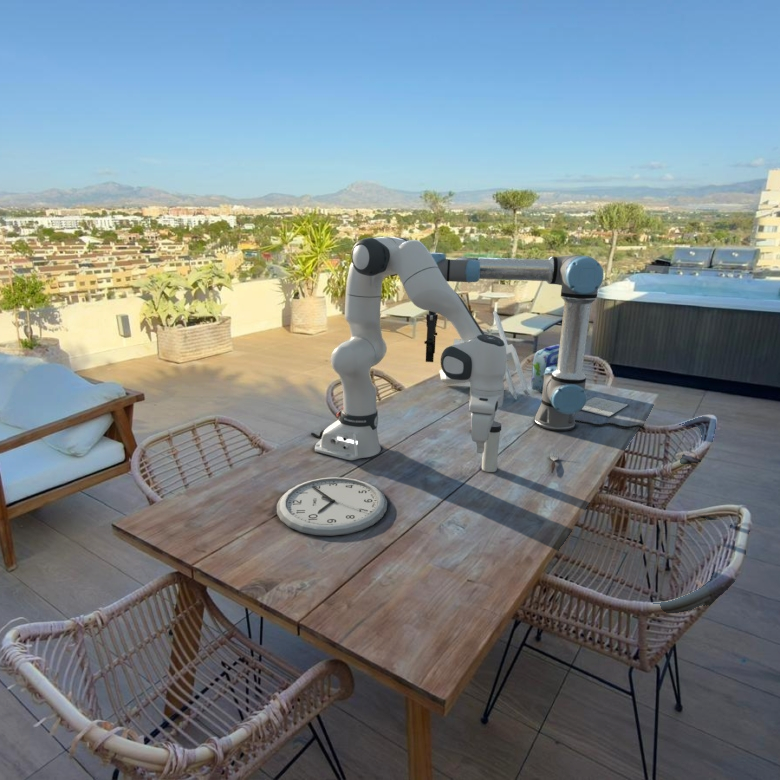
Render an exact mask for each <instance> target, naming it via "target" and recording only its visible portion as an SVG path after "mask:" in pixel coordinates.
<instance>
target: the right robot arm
mask: <svg viewBox="0 0 780 780" xmlns="http://www.w3.org/2000/svg"><path fill="white" fill-rule="evenodd" d="M430 254H431V255H432V257H433V259H434V260H435V262H436V264H437V266H438V268H439V270H440V271H441V273H442V275H443V277H444V278H445V280H446V281H447V283H449V282H452V283H453V282H457V283H468V284H470V283H477V282H479V281H480V280H495V281H497V280H499V281H500V280H501V281H526V282H527V281H531V282H546V283H547V284H548V285H557V286H561V289H560V298H561V299H562V300H563V303H564V305H563V313H562V322H561V330H560V339H559V345H560V346H559V355H558V364H557V366H553V367H547V368H546V369H545V373H544V382H543V392H542V391H541V393H542V394H541V402H540V405H539V407H538V410H537V411H536V413H535V417H534V424H535V425H536V426H537V427H539V428H542V429H544V430H549V431H556V432H567V431H572V430H574V429H575V428H576V423H577V424H584V425H588V426H592V427H604V426H614V427H617V428H619V429H620V428H621V429H626V430H628V429H635V428H640V429H641V430H643V431H646V430H647V429H646V428H645V426H643V425H641V424H633V425H622V424H618V423H614V422H602V423H594V422H590V421H587V420H585V421H584V420H579V419H576V418H575V417H576V416H575V414H576V413H579V412H580V411H582V410H581V409H582V408H583V407H584V406H585V404H586V401H588V397H587V392H586V389H585V388H586V383H587V382H586V381H587V375H586V374H585V373H584V371H583V369H584V361H585V355H586V347H587V339H588V338H587V337H588V330H589V324H590V318H591V317H590V316H591V308H592V303H593V302H594V301H596V300H597V298H598V294H599V293H598V291H599V288H601V285H602V284H603V281H604V269H603V267H602V265H601V264H600V262H599V261H597V260H596V259H595V258H594V257H592V256H587V255H581V254H574V255H573V254H572V255H565V256H551V257H549V258H548V259H545V258H544V259H543V258H542V259H541V258H540V259H539V258H501V257H500V258H497V257H496V258H495V257H494V258H492V257H466V256H460V257H457V258H455V259H451V258H449V259H448V258H447V257H446V253H444V252H430ZM438 318H439V314H438V313H435V312H432V311H428V313H426V316H425V320H426V340H424V342H423V343H424V344H425V362H426V363H434V359H435V357H434V356H435V353H436V338H437V337H436V336H438V332H437V329H436V328H437V324H438Z"/></svg>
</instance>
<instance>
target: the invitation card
mask: <svg viewBox="0 0 780 780" xmlns="http://www.w3.org/2000/svg"><path fill="white" fill-rule="evenodd" d="M628 406H629V404H627V403H623V402H618V401H614V400H609V399H605V398H601V397H596V396H593V397H592V398H590V399H587V401H586V404H585V406H584V407H583V408H582V409H581V410H580V411H584V412H587V413H593V414H596V415H600V416H604V417H608V418H609V417H611V416H613V415H614V414H616V413H617V412H619V411H621V410H623V409H624V408H626V407H628Z"/></svg>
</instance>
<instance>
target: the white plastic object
mask: <svg viewBox="0 0 780 780" xmlns="http://www.w3.org/2000/svg"><path fill="white" fill-rule="evenodd" d="M492 315H493V319H494V321H495V324H496V325H495V326H496V328H497V332H498V335H499V338H500V339H501V340H503V341H504V343H505V347H506V372H505V375H504V377H505V380H506V383H507V386H508V390H509V393H510V394H511V395H512V397H513V398H514V399H515V400H517V392H516V391H517V390H516V388H515V385H514V381H513V378H512V375H511V371H510V369H509V365H508V361H510V360H513V363H514V366H515V369H516V372H517V376H518V380H519V382H520V385H521V389H522V391H523V393H524V395H525V396H526V397H528V396H531V395H530V390H529V388H528V387H529V386H528V384H527V381H526V378H525V375H524V371H523V369H522V368H523V367H522V366H521V362H520V359H519V355H518V352H517V349H516V347H515V346H514V345H513V343H511V344H508V341H507V337H506V334H505V331H504V328H503V325H502V321H501V318H500V315H499V314H498V312H497V311H496V310H495V311H492ZM459 343H464V342H463V340H462V339H461V338H460V339H458V338H454V340H453V344H452V345H455V344H459ZM438 372H439V376H440V381H442V383H443V384H444V385H445V386H449V385H458V384H467V383H468V384H469V383H470V381H469V380H454V379H450V378H449V377H447V376H446V375H445V374H444V372H443V370H442V368H441V369H440V370H439V371H438Z"/></svg>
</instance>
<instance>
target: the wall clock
mask: <svg viewBox="0 0 780 780" xmlns="http://www.w3.org/2000/svg"><path fill="white" fill-rule="evenodd" d="M387 509H388V500H387V498H386V496H385V494H384V493H383V492H382V491H381V490H380V489H379V488H377V487H376V486H374V485H372V484H371V483H369V482H365V481H362V480H359V479H355V478H349V477H338V476H337V477H335V476H333V477H332V476H331V477H322V478H317V479H312V480H307V481H305V482H302V483H299V484H297V485H295V486H293V487H292V488H290V489H288V490H287V491H286V492H285V493H284V494H283V495H281V496H280V498H279V499H278V502H277V503H276V515H277V517H278V518H279V520H280V521H281V522H282V523H283V524H285V525H286V526H287V527H288V528H290V529H293V530H295V531H297V532H299V533H303V534H308V535H312V536H327V537H328V536H329V537H331V536H332V537H333V536H342V535H350V534H352V533H356V532H361V531H363V530H366V529H368V528H369V527H372V526H373V525H375V524H376V523H378V522H379V521H380V520H381V519H382V518H383V517H384V516H385V514H386V512H387Z"/></svg>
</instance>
